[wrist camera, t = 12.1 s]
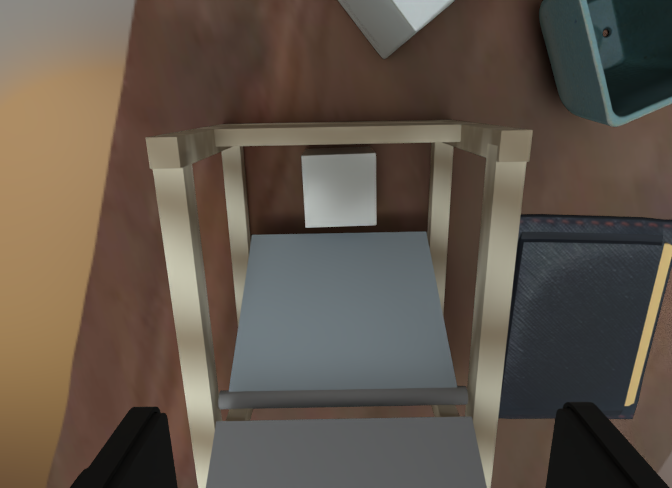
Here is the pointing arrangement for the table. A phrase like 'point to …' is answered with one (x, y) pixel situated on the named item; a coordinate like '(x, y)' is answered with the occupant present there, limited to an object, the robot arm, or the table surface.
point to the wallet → (583, 312)
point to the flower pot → (610, 56)
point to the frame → (494, 247)
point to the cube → (339, 186)
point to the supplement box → (392, 20)
